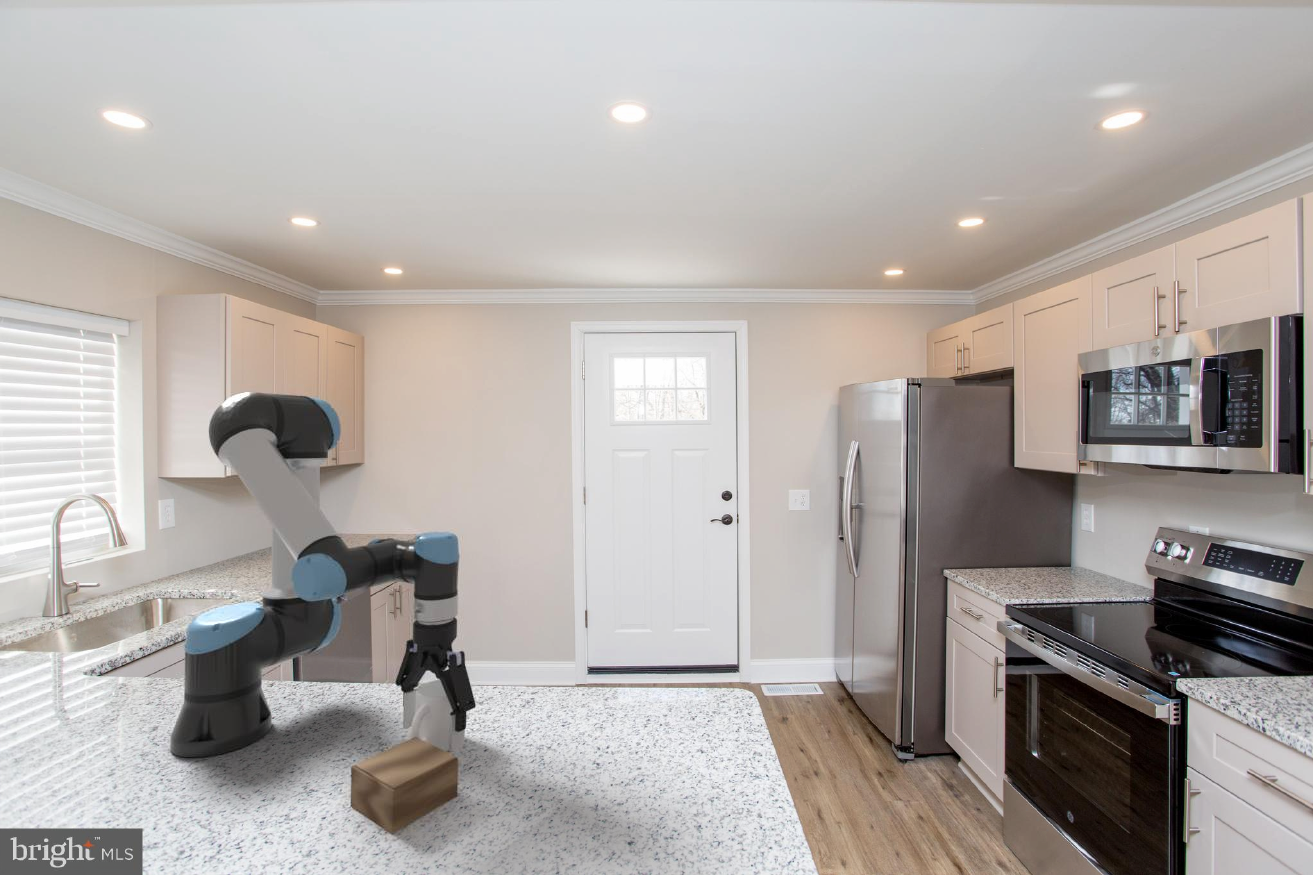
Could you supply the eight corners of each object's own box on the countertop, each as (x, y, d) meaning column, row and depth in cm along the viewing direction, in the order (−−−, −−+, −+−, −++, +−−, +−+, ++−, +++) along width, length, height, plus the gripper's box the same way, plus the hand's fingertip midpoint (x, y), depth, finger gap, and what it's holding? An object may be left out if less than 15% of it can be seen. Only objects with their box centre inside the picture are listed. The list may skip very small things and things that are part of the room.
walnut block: (350, 806, 89) (351, 764, 89) (415, 773, 98) (416, 735, 98) (392, 834, 83) (393, 789, 83) (457, 796, 92) (458, 755, 92)
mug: (431, 770, 99) (432, 709, 99) (390, 762, 101) (391, 702, 102) (471, 736, 111) (472, 681, 111) (433, 729, 113) (434, 676, 113)
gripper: (377, 611, 110) (374, 725, 110) (462, 638, 96) (459, 767, 96) (413, 602, 116) (410, 710, 116) (497, 626, 103) (495, 748, 102)
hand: (432, 736), depth 106 cm, fingers open, 13 cm apart
